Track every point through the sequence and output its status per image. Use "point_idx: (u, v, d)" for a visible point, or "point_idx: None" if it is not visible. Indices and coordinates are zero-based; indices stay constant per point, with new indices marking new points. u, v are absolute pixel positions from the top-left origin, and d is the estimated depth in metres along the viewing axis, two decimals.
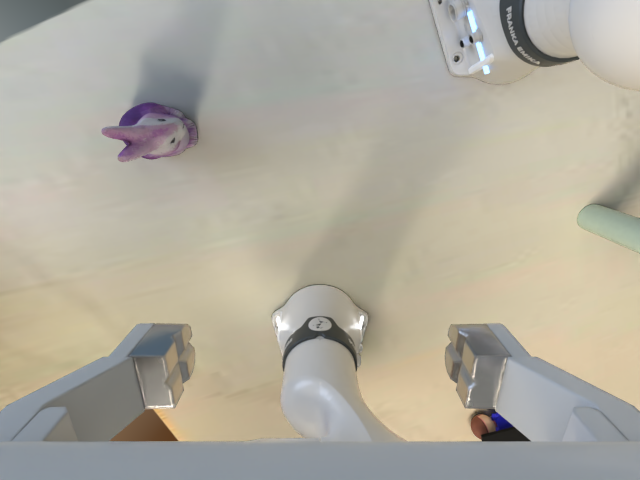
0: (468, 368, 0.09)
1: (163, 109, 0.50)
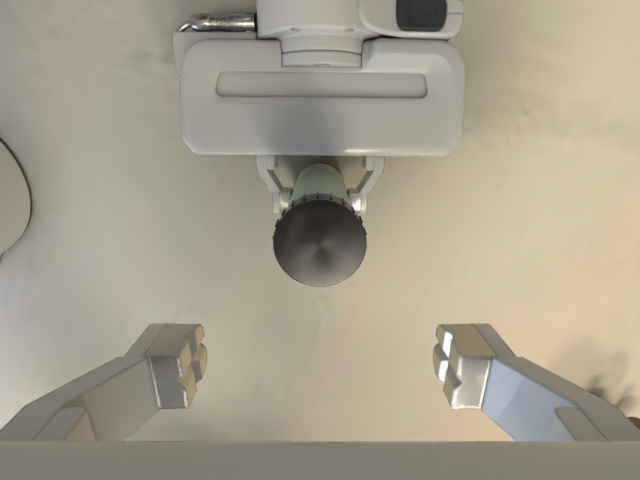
0: (454, 368, 0.09)
1: None
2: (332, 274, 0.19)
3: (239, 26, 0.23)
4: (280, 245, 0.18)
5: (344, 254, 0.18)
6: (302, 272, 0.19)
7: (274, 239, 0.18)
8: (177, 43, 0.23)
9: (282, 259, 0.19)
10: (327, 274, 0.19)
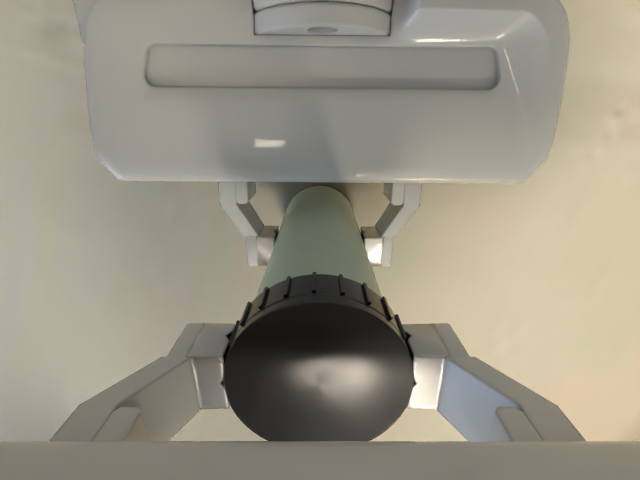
0: None
1: None
2: (343, 433, 0.10)
3: None
4: (238, 385, 0.09)
5: (368, 400, 0.09)
6: (284, 430, 0.10)
7: (225, 374, 0.09)
8: None
9: (243, 409, 0.09)
10: (334, 433, 0.10)
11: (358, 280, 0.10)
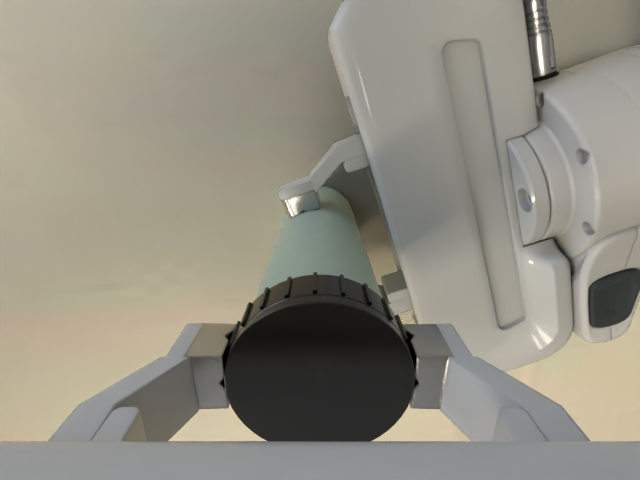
0: None
1: None
2: (344, 434, 0.10)
3: (538, 51, 0.15)
4: (239, 385, 0.09)
5: (369, 401, 0.09)
6: (285, 430, 0.10)
7: (226, 375, 0.09)
8: None
9: (244, 409, 0.09)
10: (334, 434, 0.10)
11: None
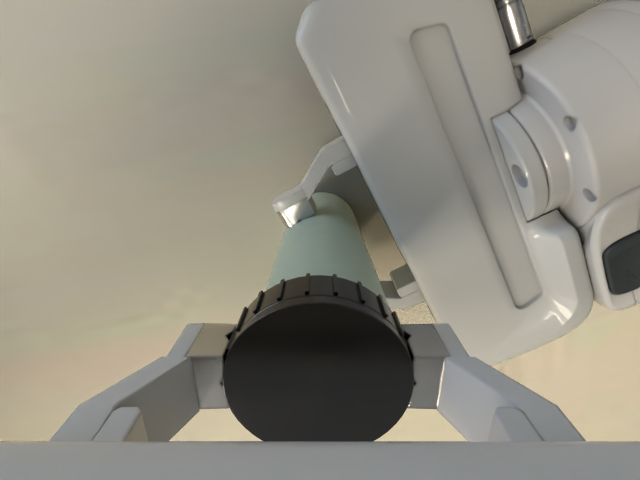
0: None
1: None
2: (389, 385, 0.09)
3: (511, 23, 0.14)
4: None
5: (357, 353, 0.09)
6: (360, 428, 0.09)
7: None
8: None
9: None
10: (385, 393, 0.09)
11: None
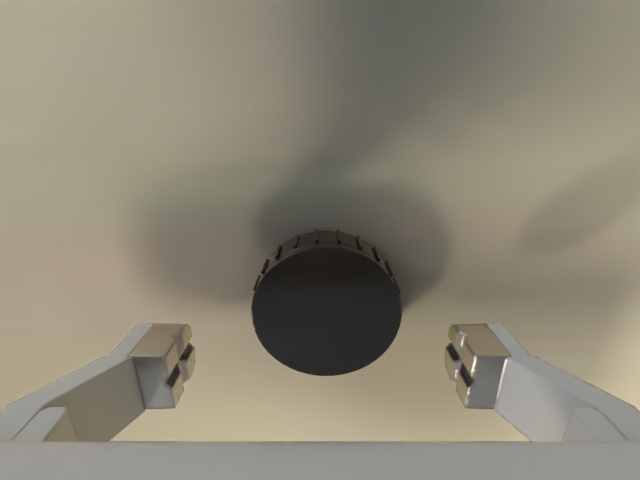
0: (468, 368, 0.09)
1: None
2: (382, 315, 0.11)
3: None
4: (306, 364, 0.12)
5: (356, 288, 0.11)
6: (360, 352, 0.12)
7: (294, 368, 0.12)
8: None
9: (328, 369, 0.12)
10: (379, 322, 0.11)
11: None
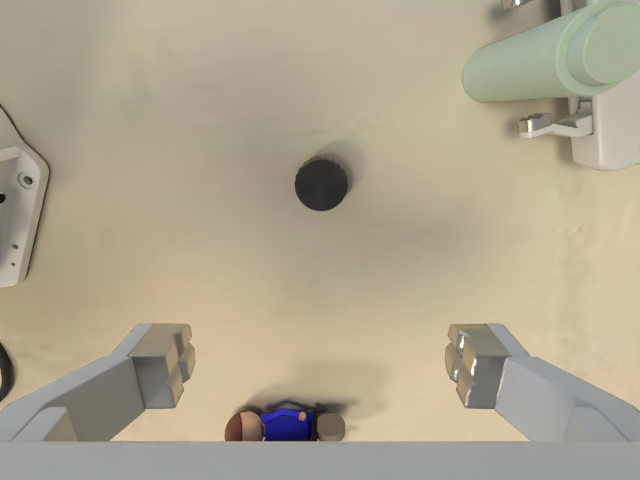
0: (468, 368, 0.09)
1: None
2: (340, 185, 0.33)
3: None
4: (313, 205, 0.33)
5: (331, 174, 0.32)
6: (333, 200, 0.33)
7: (309, 207, 0.34)
8: None
9: (321, 207, 0.34)
10: (339, 188, 0.33)
11: None
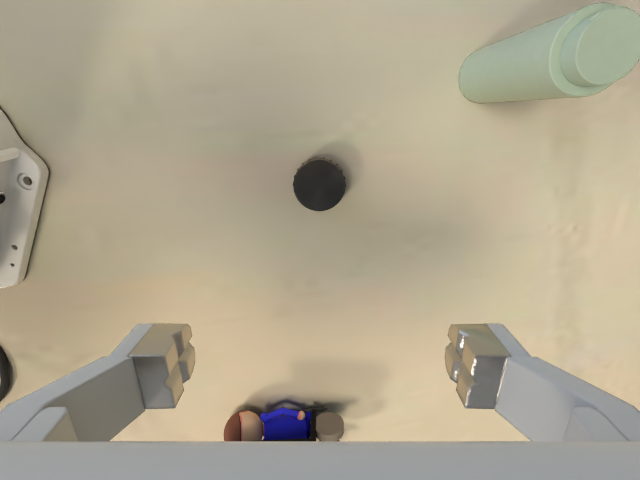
0: (468, 368, 0.09)
1: None
2: (338, 185, 0.33)
3: None
4: (311, 205, 0.34)
5: (329, 175, 0.33)
6: (331, 200, 0.34)
7: (307, 207, 0.34)
8: None
9: (319, 208, 0.34)
10: (337, 188, 0.33)
11: None
